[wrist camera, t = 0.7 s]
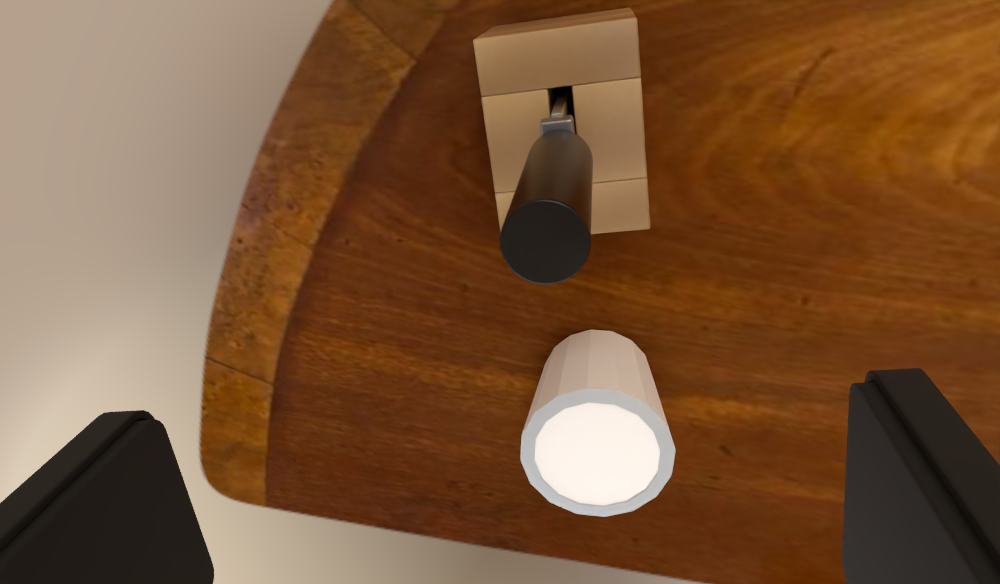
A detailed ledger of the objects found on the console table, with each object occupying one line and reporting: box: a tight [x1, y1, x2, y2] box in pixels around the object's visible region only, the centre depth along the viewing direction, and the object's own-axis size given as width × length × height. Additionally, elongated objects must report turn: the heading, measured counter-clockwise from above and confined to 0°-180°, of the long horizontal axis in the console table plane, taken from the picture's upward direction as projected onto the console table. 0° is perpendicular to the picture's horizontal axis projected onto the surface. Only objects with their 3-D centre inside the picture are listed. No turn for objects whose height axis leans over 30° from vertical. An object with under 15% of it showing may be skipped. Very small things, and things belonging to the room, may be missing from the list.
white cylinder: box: [520, 329, 675, 517], centre depth 37 cm, size 7×7×7 cm
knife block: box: [473, 8, 650, 234], centre depth 32 cm, size 8×6×6 cm
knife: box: [500, 86, 593, 284], centre depth 26 cm, size 3×2×18 cm
